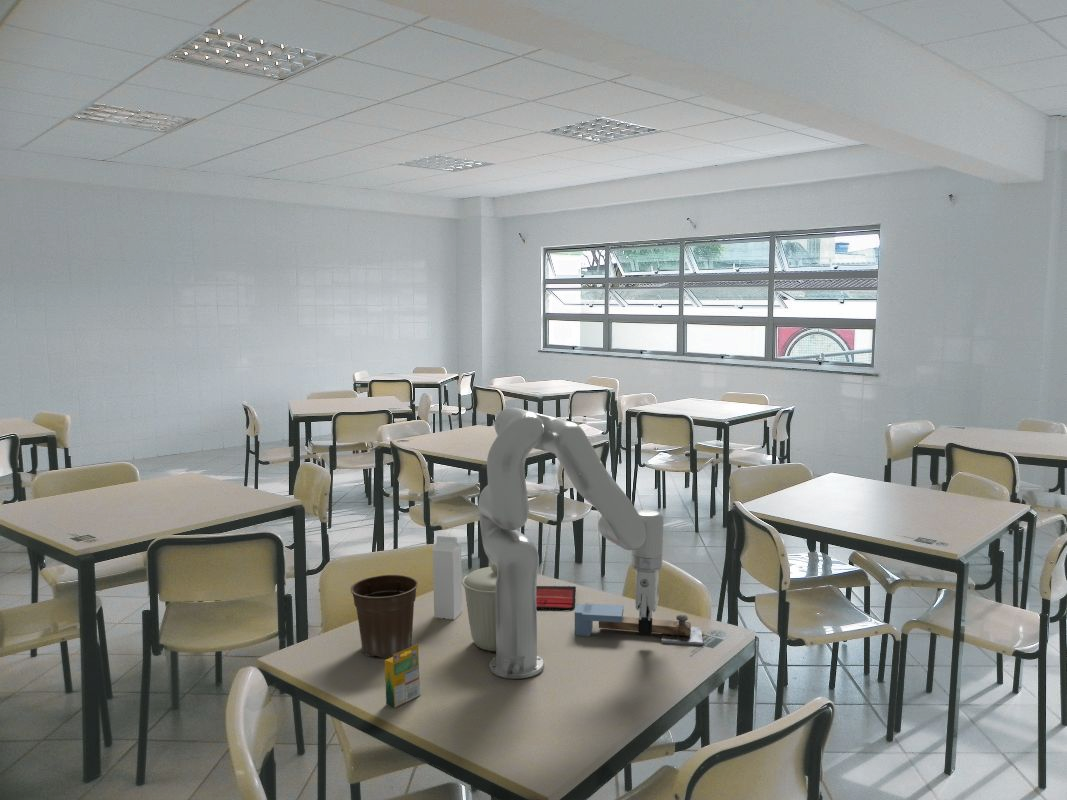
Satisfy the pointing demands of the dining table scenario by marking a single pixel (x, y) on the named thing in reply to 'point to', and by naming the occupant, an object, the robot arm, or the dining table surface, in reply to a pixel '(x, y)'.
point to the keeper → (595, 616)
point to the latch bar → (657, 625)
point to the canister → (482, 606)
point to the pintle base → (684, 638)
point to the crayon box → (402, 676)
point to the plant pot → (385, 613)
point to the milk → (447, 578)
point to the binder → (555, 597)
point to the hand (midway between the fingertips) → (645, 633)
